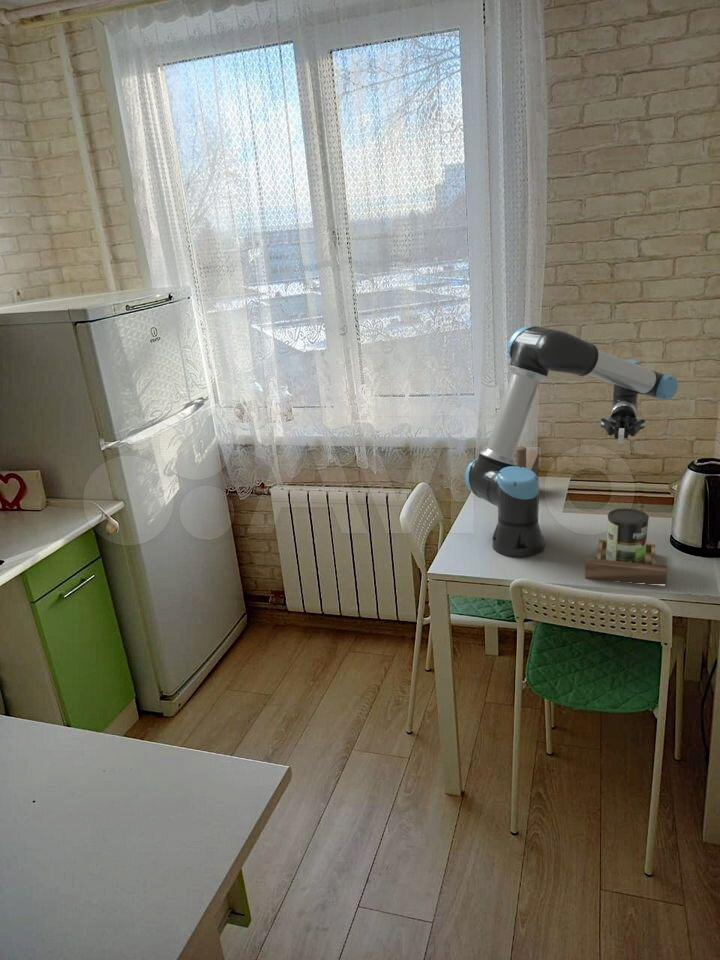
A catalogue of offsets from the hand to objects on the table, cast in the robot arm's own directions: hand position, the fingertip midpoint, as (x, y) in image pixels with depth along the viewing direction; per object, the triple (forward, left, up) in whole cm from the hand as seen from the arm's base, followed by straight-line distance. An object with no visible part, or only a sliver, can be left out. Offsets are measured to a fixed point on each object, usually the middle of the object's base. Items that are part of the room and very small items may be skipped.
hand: (620, 439), depth 205 cm
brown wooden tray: (-16, -12, -30) cm, 36 cm away
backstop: (-25, -16, -30) cm, 42 cm away
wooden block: (+10, +40, -30) cm, 51 cm away
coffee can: (-17, -13, -29) cm, 36 cm away
